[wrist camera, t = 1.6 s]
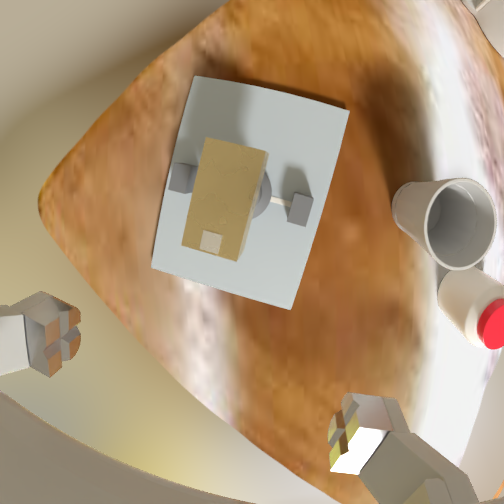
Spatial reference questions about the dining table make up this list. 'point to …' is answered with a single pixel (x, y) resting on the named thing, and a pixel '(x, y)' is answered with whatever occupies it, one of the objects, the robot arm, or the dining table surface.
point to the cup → (447, 219)
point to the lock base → (287, 169)
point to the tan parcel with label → (224, 198)
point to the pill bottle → (474, 306)
